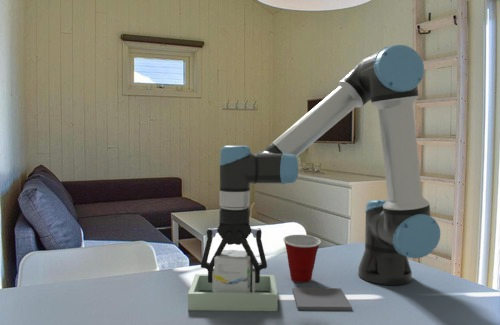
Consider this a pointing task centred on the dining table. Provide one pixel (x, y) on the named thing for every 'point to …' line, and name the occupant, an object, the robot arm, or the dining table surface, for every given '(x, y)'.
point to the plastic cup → (301, 256)
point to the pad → (320, 299)
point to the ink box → (233, 272)
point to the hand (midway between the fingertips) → (233, 295)
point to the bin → (233, 296)
